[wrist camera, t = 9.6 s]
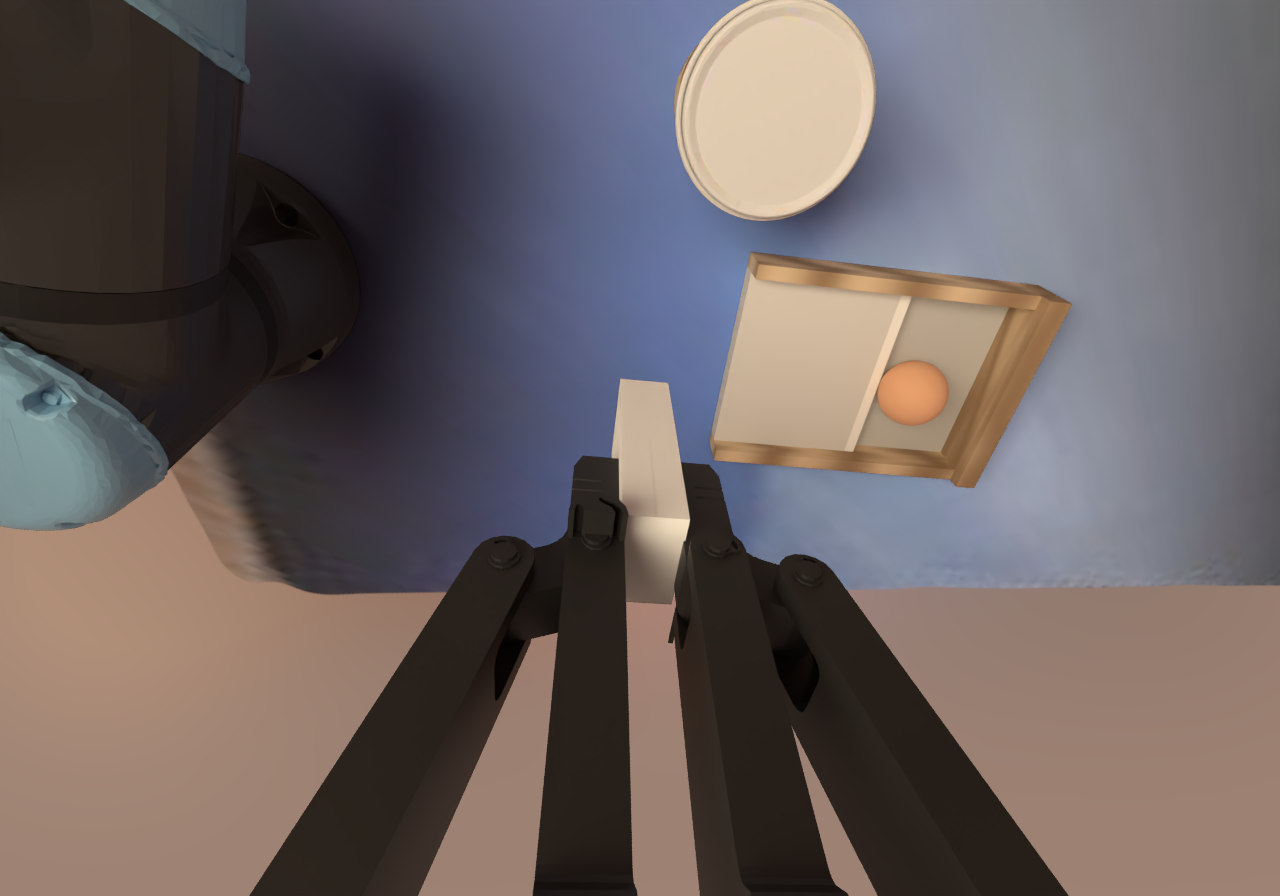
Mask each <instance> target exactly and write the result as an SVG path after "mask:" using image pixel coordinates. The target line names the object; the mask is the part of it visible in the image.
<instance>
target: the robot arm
mask: <svg viewBox="0 0 1280 896" xmlns="http://www.w3.org/2000/svg"><path fill="white" fill-rule="evenodd" d="M245 31H246V0H0V526H2V527H7V528H14V529H22V530H36V531H40V530H41V531H51V530H52V531H53V530H64V529H72V528H78V527H81V526H84V525H86V524H88V523H93V522H98V521H101V520H104V519H106V518H108V517H110V516H111V515H113V514H115V513H116V512H118V511H119V510H121V509H122V508H123V507H125V506H126V505H127V504H129V503H130V502H132V501H133V500H135V499H136V498H137V497H139V496H140V495H142V494H143V493H144V492H146V491H147V490H149V489H151V488H153V487H155V486H156V485H157V484H158V483H159V482H161V481H162V480H163V479H164V478H165V477H164V476H165V475H167V471H168V470H169V469H170V468H171V467H172V466H173V465H174V464H175V463H176V462H177V461H178V460H179V459H181V458H182V457H183V456H184V455H185V454H186V453H187V452H188V451H189V450H190V449H191V448H192V447H193V446H194V445H195V444H196V443H197V442H199V441H200V440H201V439H202V438H203V437H204V436H205V435H206V434H207V433H208V432H209V431H210V430H211V429H212V428H213V427H214V426H215V425H217V424H218V423H219V422H220V421H221V420H222V419H223V418H224V417H225V416H226V415H227V414H228V413H229V412H230V411H231V410H232V409H233V408H235V407H236V406H237V405H238V404H239V403H240V402H241V401H242V400H243V399H244V398H245V397H246V396H247V395H248V394H249V393H250V392H251V391H252V390H253V389H254V388H255V387H256V386H258V385H261V384H265V383H268V382H272V381H275V380H279V379H283V378H286V377H290V376H293V375H297V374H300V373H302V372H305V371H307V370H309V369H311V368H313V367H315V366H316V365H318V364H320V363H321V362H322V361H324V360H325V359H326V358H327V357H328V356H330V355H331V354H332V353H333V352H334V350H335V349H336V348H337V347H338V346H339V345H340V344H341V343H342V342H343V341H344V340H345V338H346V337H347V336H348V334H349V332H350V331H351V329H352V327H353V325H354V323H355V320H356V317H357V313H358V309H359V301H360V285H359V277H358V272H357V268H356V264H355V261H354V258H353V255H352V253H351V250H350V248H349V246H348V244H347V241H346V239H345V238H344V236H343V234H342V232H341V231H340V229H339V228H338V226H337V224H336V223H335V222H334V220H333V219H332V217H331V216H330V215H329V214H328V212H327V211H326V210H325V209H324V208H323V206H322V205H321V204H320V203H319V202H318V201H317V200H316V199H315V198H314V197H313V196H312V195H311V194H310V193H309V192H307V191H306V190H305V189H304V188H303V187H302V186H300V185H299V184H298V183H296V182H295V181H294V180H292V179H291V178H290V177H288V176H287V175H285V174H284V173H282V172H280V171H279V170H277V169H275V168H273V167H271V166H269V165H268V164H266V163H263V162H261V161H259V160H257V159H254V158H251V157H249V156H246V155H242V154H239V146H240V133H241V121H242V108H243V96H244V83H245V84H250V77H251V75H250V72H249V70H248V68H247V66H246V65H245ZM674 591H675V599H676V608H675V612H674V617H673V622H672V626H671V630H670V635H669V641H668V643H673V640H674V638H675V648H676V658H677V668H678V678H679V687H680V698H681V708H682V718H683V729H684V738H685V748H686V758H687V769H688V778H689V788H690V799H691V809H692V820H693V830H694V839H695V850H696V860H697V870H698V880H699V890H700V896H848V894H847V893H846V892H845V891H843V890H842V889H840V888H839V887H838V886H836V885H835V883H834V881H833V879H832V877H831V874H830V871H829V868H828V865H827V861H826V857H825V853H824V850H823V846H822V842H821V838H820V834H819V830H818V827H817V823H816V819H815V815H814V811H813V807H812V803H811V799H810V795H809V792H808V788H807V784H806V780H805V776H804V772H803V769H802V765H801V761H800V757H799V753H798V749H797V745H796V742H795V738H794V734H793V730H792V727H793V729H794V731H795V733H796V735H797V737H798V739H799V741H800V743H801V745H802V747H803V749H804V751H805V753H806V755H807V757H808V759H809V761H810V763H811V765H812V767H813V769H814V771H815V773H816V775H817V777H818V779H819V780H820V783H821V785H822V787H823V788H824V790H825V792H826V794H827V796H828V798H829V800H830V802H831V804H832V806H833V808H834V810H835V812H836V814H837V816H838V818H839V820H840V822H841V824H842V826H843V828H844V830H845V832H846V834H847V836H848V838H849V840H850V842H851V844H852V846H853V848H854V850H855V852H856V854H857V856H858V858H859V860H860V862H861V863H862V865H863V867H864V869H865V871H866V873H867V875H868V877H869V879H870V881H871V883H872V885H873V887H874V889H875V891H876V893H877V895H878V896H1068V894H1067V893H1066V892H1065V890H1064V889H1063V887H1062V886H1061V885H1060V883H1059V882H1058V880H1057V879H1056V878H1055V876H1054V875H1053V874H1052V872H1051V871H1050V869H1048V867H1047V865H1046V864H1045V863H1044V861H1043V860H1042V859H1041V857H1040V856H1039V854H1038V853H1037V852H1036V850H1035V849H1034V848H1033V846H1032V845H1031V843H1030V842H1029V841H1028V839H1027V838H1026V837H1025V835H1024V834H1023V832H1022V831H1021V830H1020V828H1019V827H1018V826H1017V824H1016V823H1015V821H1014V820H1013V819H1012V817H1011V816H1010V814H1009V813H1008V812H1007V810H1006V809H1005V808H1004V806H1003V805H1002V803H1001V802H1000V801H999V799H998V798H997V796H996V795H995V794H994V792H993V791H992V790H991V788H990V787H989V786H988V784H987V783H986V781H985V780H984V779H983V778H982V776H981V774H980V773H979V772H978V770H977V769H976V768H975V766H974V765H973V764H972V762H971V761H970V759H969V758H968V757H967V755H966V754H965V752H964V751H963V750H962V748H961V747H960V746H959V744H958V743H957V742H956V740H955V739H954V737H953V736H952V735H951V734H950V732H949V730H948V729H947V728H946V726H945V725H944V724H943V722H942V721H941V719H940V718H939V717H938V715H937V714H936V713H935V711H934V710H933V709H932V707H931V706H930V704H929V703H928V702H927V700H926V699H925V697H924V696H923V695H922V693H921V692H920V691H919V689H918V688H917V686H916V685H915V684H914V682H913V681H912V680H911V678H910V677H909V675H908V674H907V673H906V671H905V670H904V668H903V667H902V666H901V665H900V663H899V662H898V660H897V659H896V657H895V656H894V655H893V653H892V652H891V651H890V649H889V648H888V647H887V645H886V644H885V642H884V641H883V640H882V638H881V637H880V635H879V634H878V633H877V631H876V630H875V629H874V627H873V626H872V624H871V623H870V622H869V620H868V619H867V618H866V616H865V615H864V613H863V612H862V611H861V609H860V608H859V607H858V605H857V604H856V603H855V601H854V600H853V598H852V597H851V596H850V594H849V593H848V591H847V590H846V589H845V587H844V586H843V585H842V583H841V582H840V580H839V579H838V578H837V576H836V575H835V574H834V572H833V571H832V570H831V569H830V568H829V567H828V566H827V565H826V564H825V563H823V562H821V561H820V560H818V559H816V558H814V557H810V556H807V555H798V554H794V555H790V556H787V557H785V558H784V559H783V560H782V561H781V562H780V564H779V565H777V564H774V563H770V562H767V561H764V560H761V559H758V558H756V557H753V556H752V555H750V554H748V553H747V552H746V549H745V547H744V545H743V544H742V542H741V541H740V540H739V539H738V538H737V537H735V536H734V535H733V532H732V528H731V524H730V520H729V516H728V512H727V508H726V504H725V501H724V496H723V492H722V487H721V483H720V479H719V476H718V475H717V474H716V473H715V471H714V470H713V469H712V468H711V467H710V466H709V465H705V464H693V463H681V460H680V454H679V448H678V442H677V436H676V429H675V423H674V417H673V411H672V405H671V399H670V392H669V386H668V383H660V382H650V381H639V380H629V379H620V387H619V395H618V404H617V413H616V421H615V430H614V438H613V447H612V458H604V457H592V456H582V457H581V459H580V460H579V461H578V462H577V463H576V465H575V466H574V474H573V485H572V495H571V505H570V508H569V517H568V529H567V532H566V533H565V534H564V536H563V537H562V538H560V539H559V540H558V541H556V542H554V543H552V544H550V545H546V546H542V547H537V548H532V547H531V546H530V545H529V544H528V543H527V542H526V541H524V540H522V539H519V538H517V537H511V536H499V537H493V538H490V539H488V540H486V541H484V542H482V543H481V544H480V545H479V546H478V547H477V548H476V549H475V550H474V552H473V553H472V555H471V556H470V558H469V559H468V561H467V562H466V564H465V566H464V567H463V569H462V570H461V572H460V573H459V575H458V576H457V578H456V579H455V581H454V582H453V584H452V586H451V587H450V589H449V590H448V592H447V593H446V595H445V596H444V598H443V599H442V601H441V602H440V604H439V605H438V607H437V609H436V610H435V612H434V613H433V615H432V616H431V618H430V619H429V621H428V622H427V624H426V625H425V627H424V628H423V630H422V632H421V633H420V635H419V636H418V638H417V639H416V641H415V642H414V644H413V645H412V647H411V648H410V650H409V652H408V653H407V655H406V656H405V658H404V659H403V661H402V662H401V664H400V665H399V667H398V669H397V670H396V671H395V673H394V675H393V676H392V678H391V679H390V681H389V682H388V684H387V685H386V687H385V688H384V690H383V692H382V693H381V694H380V696H379V698H378V699H377V701H376V702H375V704H374V705H373V707H372V708H371V710H370V711H369V713H368V714H367V716H366V717H365V719H364V721H363V722H362V724H361V725H360V727H359V728H358V730H357V731H356V733H355V734H354V736H353V737H352V739H351V741H350V742H349V744H348V745H347V747H346V748H345V750H344V751H343V753H342V755H341V756H340V757H339V759H338V760H337V762H336V764H335V765H334V767H333V768H332V770H331V771H330V773H329V774H328V776H327V777H326V779H325V781H324V782H323V783H322V785H321V787H320V788H319V790H318V791H317V793H316V794H315V796H314V797H313V799H312V801H311V802H310V803H309V805H308V806H307V808H306V810H305V811H304V813H303V814H302V816H301V817H300V819H299V820H298V822H297V823H296V825H295V827H294V828H293V830H292V831H291V833H290V834H289V836H288V837H287V839H286V840H285V842H284V843H283V845H282V847H281V848H280V850H279V851H278V853H277V854H276V856H275V857H274V859H273V860H272V862H271V863H270V865H269V866H268V868H267V870H266V871H265V872H264V874H263V876H262V877H261V879H260V880H259V882H258V883H257V885H256V886H255V888H254V890H253V891H252V893H251V894H250V896H418V894H419V892H420V890H421V887H422V885H423V883H424V881H425V878H426V876H427V874H428V872H429V870H430V867H431V865H432V863H433V860H434V858H435V856H436V854H437V852H438V849H439V847H440V845H441V843H442V840H443V838H444V836H445V833H446V831H447V829H448V827H449V825H450V822H451V820H452V818H453V816H454V813H455V811H456V809H457V807H458V804H459V802H460V800H461V798H462V795H463V793H464V791H465V789H466V787H467V784H468V782H469V780H470V778H471V775H472V773H473V771H474V769H475V766H476V764H477V762H478V760H479V757H480V755H481V753H482V751H483V748H484V746H485V744H486V742H487V739H488V737H489V735H490V732H491V730H492V728H493V726H494V723H495V721H496V719H497V717H498V715H499V713H500V710H501V708H502V706H503V704H504V701H505V699H506V697H507V695H508V692H509V690H510V688H511V686H512V683H513V681H514V679H515V677H516V674H517V672H518V669H519V668H520V665H521V663H522V661H523V659H524V656H525V654H526V652H527V650H528V647H529V645H530V642H531V639H532V638H537V637H540V636H545V635H549V634H554V633H558V638H557V649H556V660H555V669H554V680H553V691H552V701H551V712H550V723H549V734H548V744H547V755H546V765H545V776H544V786H543V797H542V807H541V818H540V829H539V840H538V850H537V861H536V871H535V881H534V889H533V896H637V890H636V887H635V885H634V881H633V868H632V832H631V831H632V830H631V790H630V789H631V788H630V752H629V751H630V750H629V749H630V747H629V711H628V709H629V706H628V668H627V667H628V665H627V628H626V627H627V625H626V602H639V603H658V604H672V600H673V595H674ZM791 725H792V726H791Z"/></svg>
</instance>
